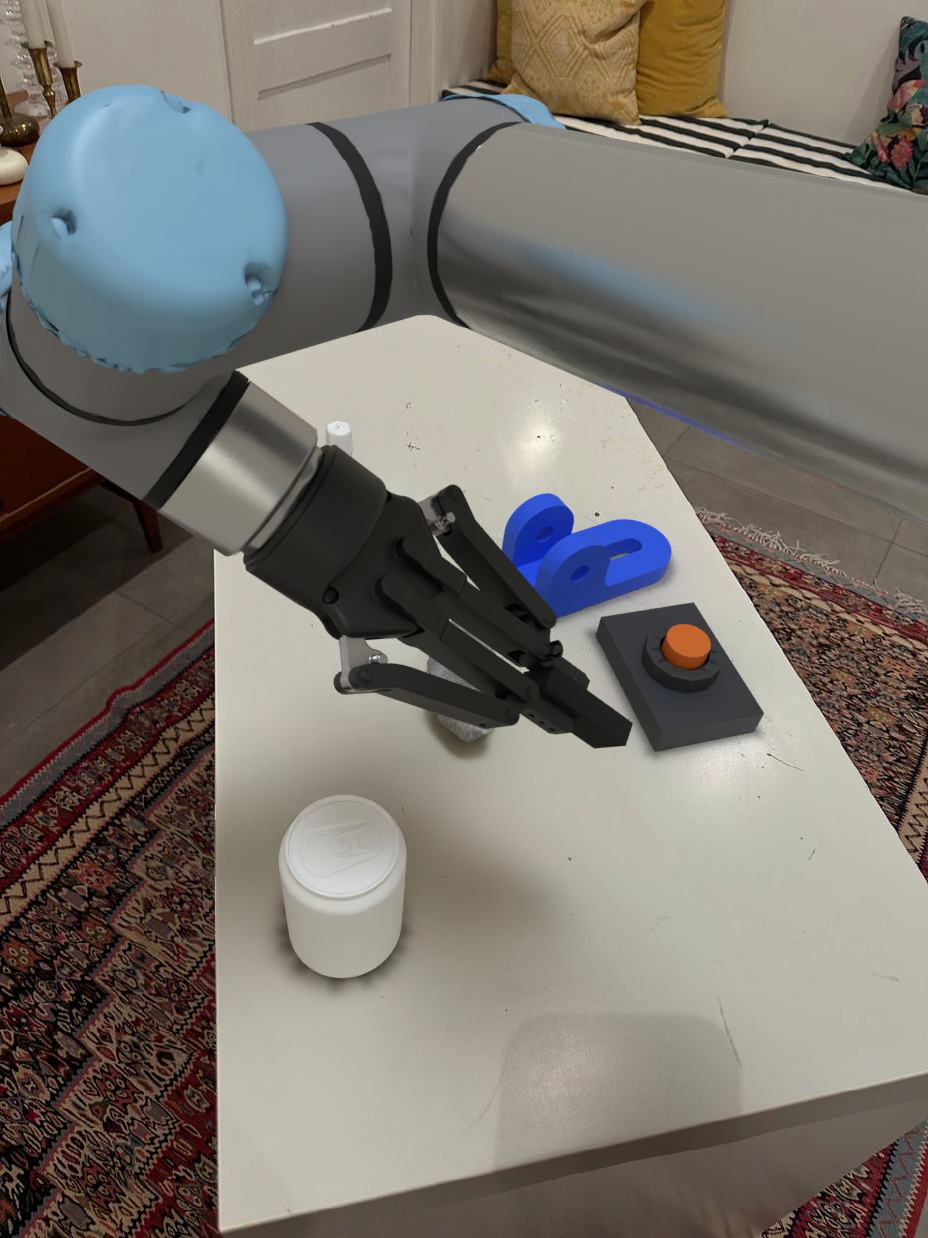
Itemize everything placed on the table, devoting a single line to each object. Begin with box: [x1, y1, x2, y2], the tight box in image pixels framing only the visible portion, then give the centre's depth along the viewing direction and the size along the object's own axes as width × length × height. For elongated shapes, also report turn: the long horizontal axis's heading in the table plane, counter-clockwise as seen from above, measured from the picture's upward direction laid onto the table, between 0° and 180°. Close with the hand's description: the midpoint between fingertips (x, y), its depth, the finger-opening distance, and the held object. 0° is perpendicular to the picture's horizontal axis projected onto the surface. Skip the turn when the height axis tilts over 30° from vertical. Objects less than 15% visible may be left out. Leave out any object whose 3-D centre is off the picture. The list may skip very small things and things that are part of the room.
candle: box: [325, 420, 354, 458], centre depth 90 cm, size 5×5×12 cm
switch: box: [662, 624, 711, 670], centre depth 78 cm, size 4×4×2 cm
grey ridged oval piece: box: [426, 619, 495, 743], centre depth 76 cm, size 6×14×8 cm, turn 4°
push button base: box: [595, 601, 765, 752], centre depth 80 cm, size 14×10×4 cm
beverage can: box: [278, 793, 408, 979], centre depth 59 cm, size 8×8×12 cm
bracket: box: [501, 492, 673, 620], centre depth 88 cm, size 18×8×9 cm, turn 119°
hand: (613, 736), depth 51 cm, fingers closed
